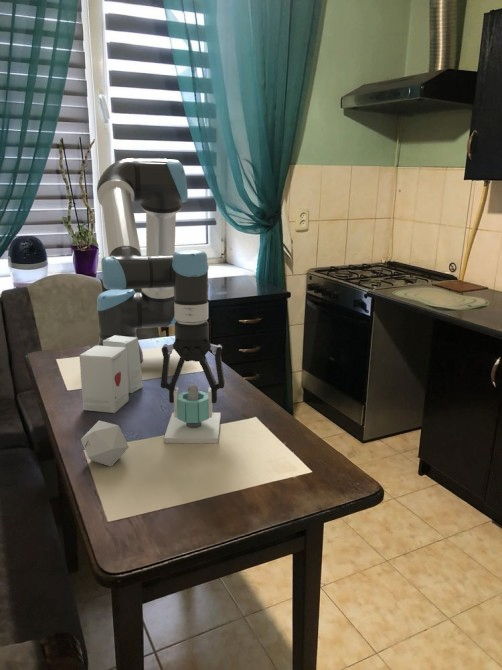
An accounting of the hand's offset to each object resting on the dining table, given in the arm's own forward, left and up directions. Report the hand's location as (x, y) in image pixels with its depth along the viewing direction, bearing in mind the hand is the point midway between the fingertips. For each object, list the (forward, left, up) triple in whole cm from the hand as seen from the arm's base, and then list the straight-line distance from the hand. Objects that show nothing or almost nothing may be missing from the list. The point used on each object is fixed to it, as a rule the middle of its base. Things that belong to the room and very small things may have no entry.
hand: (193, 415), depth 127 cm
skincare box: (-26, -22, -4) cm, 34 cm away
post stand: (0, 0, -4) cm, 4 cm away
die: (+15, -17, -4) cm, 23 cm away
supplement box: (-14, -24, -4) cm, 28 cm away
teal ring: (0, 0, 0) cm, 0 cm away
